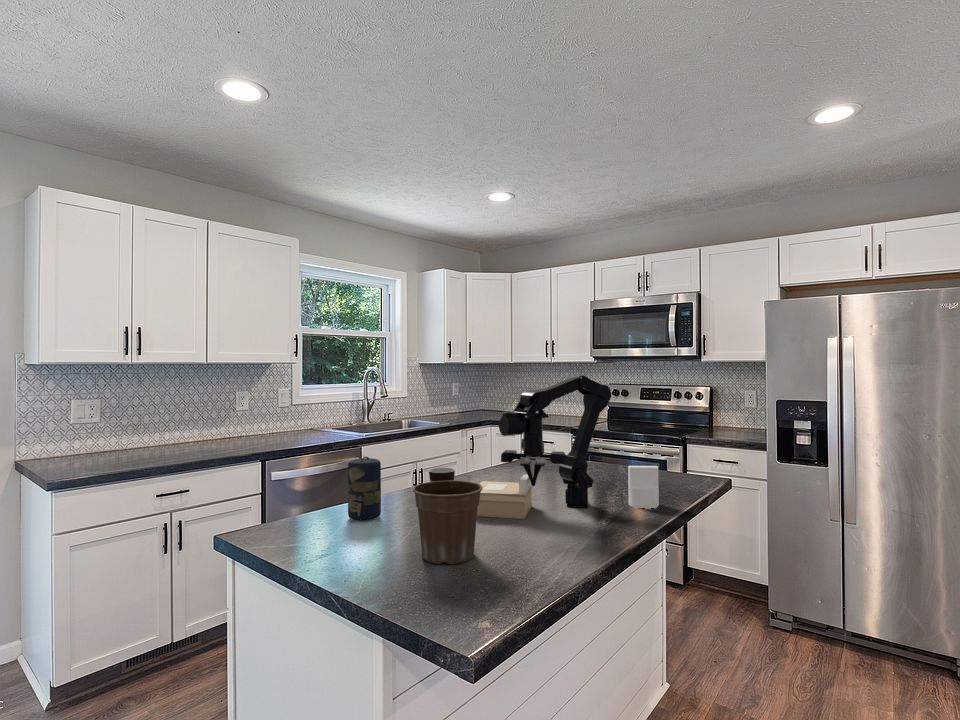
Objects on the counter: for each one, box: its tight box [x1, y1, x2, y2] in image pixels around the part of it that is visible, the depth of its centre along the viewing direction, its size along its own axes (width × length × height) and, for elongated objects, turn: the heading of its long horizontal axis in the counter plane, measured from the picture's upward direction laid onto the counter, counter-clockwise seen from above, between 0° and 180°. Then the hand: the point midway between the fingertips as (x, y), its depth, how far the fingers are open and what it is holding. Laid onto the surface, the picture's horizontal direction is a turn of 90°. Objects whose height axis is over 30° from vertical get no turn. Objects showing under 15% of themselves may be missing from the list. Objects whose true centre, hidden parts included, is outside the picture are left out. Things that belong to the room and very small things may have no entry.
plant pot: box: [412, 479, 482, 565], centre depth 127 cm, size 16×16×16 cm
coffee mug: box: [428, 467, 456, 482], centre depth 180 cm, size 12×9×10 cm
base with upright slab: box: [627, 465, 660, 510], centre depth 170 cm, size 9×9×12 cm
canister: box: [347, 456, 382, 522], centre depth 159 cm, size 10×10×18 cm
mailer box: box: [477, 488, 533, 520], centre depth 165 cm, size 16×14×6 cm
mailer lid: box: [479, 473, 533, 502], centre depth 165 cm, size 16×16×5 cm
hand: (533, 485), depth 163 cm, fingers closed
